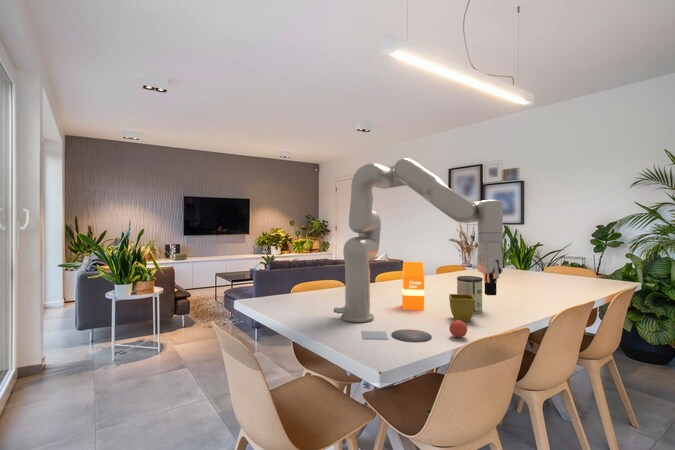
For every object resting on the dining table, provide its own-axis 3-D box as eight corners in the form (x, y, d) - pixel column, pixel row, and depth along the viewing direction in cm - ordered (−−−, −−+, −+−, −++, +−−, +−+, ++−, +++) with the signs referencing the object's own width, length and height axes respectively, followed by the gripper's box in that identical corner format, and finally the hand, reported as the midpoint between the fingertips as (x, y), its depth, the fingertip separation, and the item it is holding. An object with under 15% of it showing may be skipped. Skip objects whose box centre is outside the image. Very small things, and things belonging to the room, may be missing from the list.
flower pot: (475, 323, 136) (475, 299, 136) (450, 322, 138) (451, 298, 138) (471, 317, 145) (471, 294, 145) (448, 316, 146) (448, 293, 146)
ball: (452, 339, 117) (452, 322, 117) (447, 334, 122) (447, 318, 122) (469, 340, 117) (469, 322, 117) (463, 334, 122) (464, 318, 122)
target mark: (394, 341, 114) (394, 341, 114) (389, 329, 127) (389, 329, 127) (436, 342, 114) (436, 341, 114) (426, 330, 127) (426, 329, 127)
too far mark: (363, 339, 117) (363, 338, 117) (362, 331, 125) (362, 331, 125) (388, 339, 117) (388, 338, 117) (385, 331, 125) (385, 331, 125)
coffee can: (460, 306, 163) (460, 275, 163) (484, 309, 158) (484, 277, 158) (453, 311, 154) (454, 278, 154) (479, 314, 149) (479, 280, 149)
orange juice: (402, 305, 166) (402, 261, 166) (421, 305, 165) (422, 261, 165) (403, 309, 158) (403, 262, 158) (424, 309, 157) (424, 263, 157)
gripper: (470, 237, 126) (470, 290, 126) (487, 239, 112) (487, 299, 112) (492, 237, 126) (492, 290, 126) (512, 239, 111) (512, 299, 111)
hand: (490, 294), depth 119 cm, fingers closed
